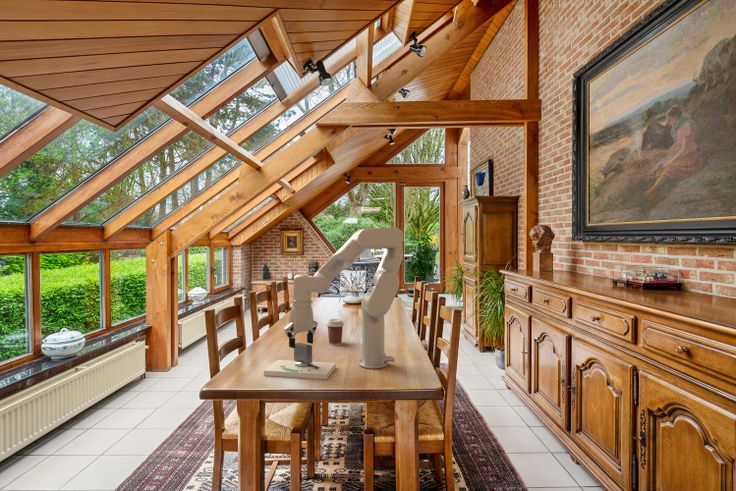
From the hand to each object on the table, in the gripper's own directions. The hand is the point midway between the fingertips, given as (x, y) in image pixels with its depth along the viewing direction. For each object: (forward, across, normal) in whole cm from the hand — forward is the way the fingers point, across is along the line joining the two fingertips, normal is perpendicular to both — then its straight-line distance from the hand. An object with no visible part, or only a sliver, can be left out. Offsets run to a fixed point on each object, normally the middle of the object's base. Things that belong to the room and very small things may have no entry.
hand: (301, 345), depth 169 cm
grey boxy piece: (+8, -1, +3) cm, 9 cm away
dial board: (+10, +2, +2) cm, 10 cm away
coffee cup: (+10, -38, -17) cm, 43 cm away
